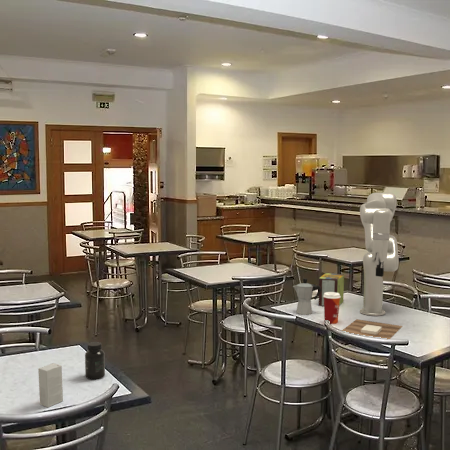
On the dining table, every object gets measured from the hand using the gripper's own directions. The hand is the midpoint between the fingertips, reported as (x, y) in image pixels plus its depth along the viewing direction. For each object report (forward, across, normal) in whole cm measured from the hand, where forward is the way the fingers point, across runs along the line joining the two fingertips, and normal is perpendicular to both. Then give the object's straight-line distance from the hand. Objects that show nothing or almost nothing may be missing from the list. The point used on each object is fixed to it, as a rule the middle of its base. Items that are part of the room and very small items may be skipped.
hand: (379, 276), depth 260 cm
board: (+25, +6, -1) cm, 26 cm away
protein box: (+26, -33, -35) cm, 54 cm away
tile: (+23, +6, 0) cm, 24 cm away
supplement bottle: (+24, +113, -70) cm, 135 cm away
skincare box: (+24, +137, -66) cm, 154 cm away
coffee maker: (+25, -8, -39) cm, 47 cm away
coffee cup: (+25, +5, -21) cm, 33 cm away
